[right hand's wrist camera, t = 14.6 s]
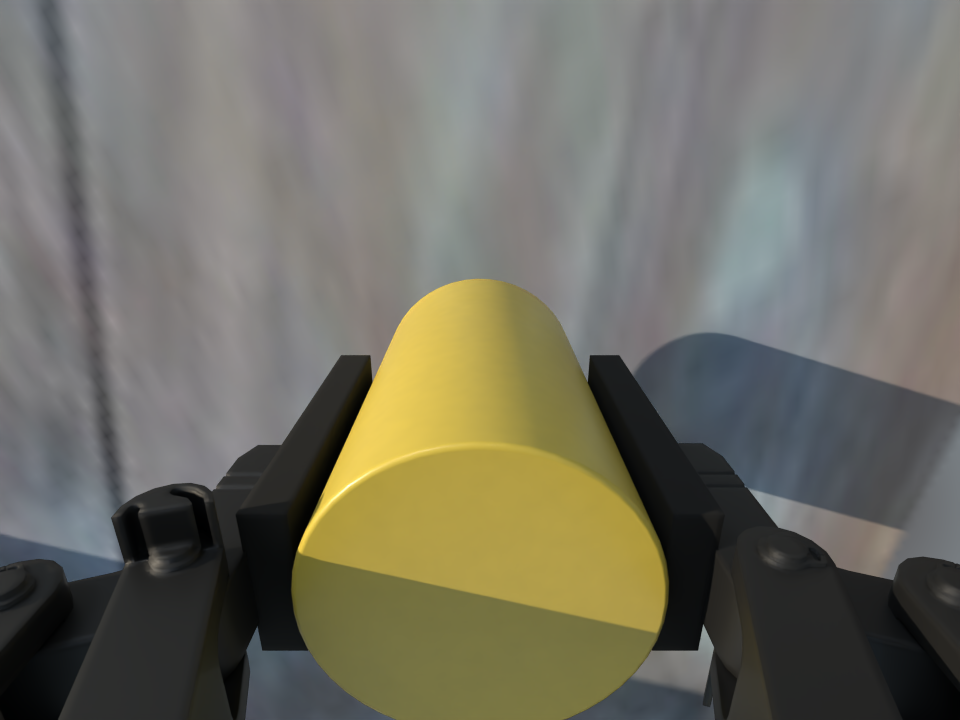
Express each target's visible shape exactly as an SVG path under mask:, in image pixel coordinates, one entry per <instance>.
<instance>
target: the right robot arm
mask: <svg viewBox="0 0 960 720" xmlns="http://www.w3.org/2000/svg"><path fill="white" fill-rule="evenodd" d="M371 385H372V370H371V358H370V355H341V356H340V358H339V359H338V361H337V362H336V364H335V365H334V367H333V368H332V370H331V371H330V373H329V374H328V376H327V377H326V379H325V380H324V382H323V383H322V385H321V386H320V388H319V389H318V391H317V392H316V394H315V395H314V397H313V399H312V400H311V402H310V403H309V405H308V406H307V408H306V409H305V411H304V412H303V414H302V415H301V417H300V418H299V420H298V421H297V423H296V424H295V426H294V427H293V429H292V430H291V432H290V433H289V435H288V436H287V438H286V439H285V441H284V442H283V444H282V445H258V446H256V447H254V448H253V449H251V450H250V451H248V452H247V453H245V454H244V455H242V456H241V457H239V458H238V459H237V460H236V462H235V463H234V464H233V465H232V467H231V468H230V469H229V471H228V472H227V473H226V476H224V477H223V478H222V480H221V481H220V482H219V483H218V485H217V486H216V487H217V488H216V489H214V490H213V491H210V490H209V489H208V488H207V487H205V486H203V485H198V484H193V483H182V484H171V485H167V486H163V487H159V488H154V489H152V490H150V491H147V492H145V493H143V494H140V495H138V496H136V497H134V498H133V499H131V500H130V501H128V502H127V503H125V504H124V505H122V506H121V507H120V508H119V509H118V510H117V511H116V513H115V514H114V515H113V516H112V517H111V519H112V522H113V526H114V529H115V532H116V536H117V539H118V542H119V545H120V549H121V552H122V555H123V559H124V562H125V566H124V568H123V570H121V571H117V572H114V573H110V574H105V575H101V576H96V577H91V578H87V579H82V580H77V581H73V582H67V579H66V576H65V573H64V571H63V568H62V567H61V566H60V565H59V564H57V563H56V562H55V561H51V560H43V559H35V560H28V561H21V562H17V563H13V564H9V565H8V566H3V567H0V720H245V715H246V706H247V696H248V687H249V678H250V667H249V661H248V656H247V651H246V649H247V647H248V645H249V643H250V641H251V639H252V636H253V634H254V632H255V630H256V628H257V626H258V631H259V636H260V641H261V646H262V651H308V648H307V646H306V644H305V642H304V640H303V638H302V636H301V634H300V631H299V628H298V625H297V621H296V618H295V615H294V609H293V601H292V592H291V585H292V570H293V565H294V561H295V556H296V552H297V549H298V547H299V544H300V542H301V540H302V537H303V535H304V532H305V530H306V528H307V526H308V524H309V521H310V519H311V517H312V515H313V513H314V510H315V508H316V506H317V504H318V502H319V499H320V497H321V495H322V493H323V491H324V488H325V486H326V484H327V482H328V480H329V477H330V475H331V473H332V471H333V469H334V466H335V464H336V462H337V460H338V458H339V455H340V453H341V451H342V449H343V447H344V444H345V442H346V440H347V438H348V436H349V433H350V431H351V429H352V427H353V425H354V422H355V420H356V418H357V416H358V414H359V411H360V409H361V407H362V405H363V403H364V400H365V398H366V396H367V394H368V392H369V389H370V387H371ZM588 385H589V387H590V389H591V391H592V393H593V396H594V398H595V400H596V402H597V404H598V407H599V409H600V411H601V413H602V415H603V417H604V420H605V422H606V424H607V426H608V428H609V431H610V433H611V435H612V437H613V439H614V442H615V444H616V446H617V448H618V450H619V453H620V455H621V457H622V459H623V461H624V463H625V466H626V468H627V470H628V472H629V474H630V477H631V479H632V481H633V483H634V485H635V488H636V490H637V492H638V494H639V496H640V499H641V501H642V503H643V505H644V507H645V510H646V512H647V514H648V516H649V518H650V520H651V523H652V525H653V527H654V529H655V531H656V534H657V536H658V538H659V540H660V543H661V546H662V549H663V552H664V555H665V558H666V562H667V569H668V577H669V595H668V605H667V610H666V615H665V620H664V624H663V626H662V629H661V631H660V634H659V637H658V639H657V641H656V643H655V645H654V646H653V648H652V650H654V651H698V647H699V642H700V637H701V632H702V627H703V624H704V626H705V629H706V631H707V633H708V635H709V637H710V639H711V641H712V644H713V646H714V651H713V656H712V661H711V665H710V670H709V675H708V679H707V684H706V689H705V693H704V700H703V705H704V706H708V707H710V705H711V701H712V696H713V704H714V714H715V720H960V565H959V564H955V563H953V562H950V561H946V560H942V559H935V558H928V557H916V558H908V559H906V560H905V561H904V562H902V563H901V564H900V565H899V566H898V569H897V572H896V575H895V578H894V580H889V579H885V578H880V577H875V576H871V575H866V574H861V573H857V572H852V571H848V570H844V569H841V568H837V567H836V565H835V563H834V562H833V560H832V559H831V558H830V556H829V555H828V553H827V552H826V551H825V550H823V549H822V548H821V547H820V546H818V545H817V544H816V543H814V542H813V541H812V540H810V539H808V538H805V537H803V536H801V535H799V534H797V533H795V532H792V531H788V530H785V529H781V528H778V527H777V525H776V524H775V523H774V522H773V520H772V519H771V518H770V516H769V515H768V514H767V513H766V511H765V510H764V509H763V508H762V506H761V505H760V504H759V502H758V501H757V500H756V499H755V497H754V496H753V495H752V493H751V492H750V491H749V490H748V488H745V487H744V483H743V482H742V481H741V479H740V478H739V477H738V476H737V475H735V474H734V470H733V469H732V468H731V467H730V465H729V464H728V463H727V461H726V460H725V459H724V458H723V456H721V455H720V454H718V453H716V452H715V451H713V450H712V449H710V448H709V447H707V446H706V445H704V444H703V443H677V442H676V440H675V439H674V437H673V436H672V434H671V433H670V431H669V430H668V428H667V427H666V425H665V424H664V422H663V421H662V419H661V418H660V416H659V415H658V413H657V412H656V410H655V409H654V407H653V405H652V404H651V402H650V401H649V399H648V398H647V396H646V395H645V393H644V392H643V390H642V389H641V387H640V386H639V384H638V383H637V381H636V380H635V378H634V377H633V375H632V374H631V372H630V371H629V369H628V368H627V366H626V365H625V363H624V362H623V360H622V359H621V357H620V356H619V355H590V362H589V375H588Z"/></svg>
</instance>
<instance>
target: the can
mask: <svg viewBox="0 0 960 720" xmlns="http://www.w3.org/2000/svg"><path fill="white" fill-rule="evenodd" d="M291 592H292V601H293V609H294V615H295V618H296V621H297V625H298V628H299V631H300V634H301V636H302V638H303V640H304V642H305V644H306V646H307V648H308V650H309V651H310V653H311V654H312V656H313V657H314V659H315V660H316V662H317V663H318V665H319V666H320V667H321V668H322V669H323V670H324V671H325V673H326V674H327V675H328V676H329V677H330V678H331V679H332V680H333V681H334V682H335V683H336V684H337V685H339V686H340V687H341V688H342V689H343V690H344V691H345V692H347V693H348V694H350V695H351V696H353V697H354V698H355V699H357V700H358V701H360V702H361V703H363V704H364V705H366V706H368V707H370V708H372V709H374V710H376V711H377V712H379V713H381V714H384V715H386V716H388V717H391V718H393V719H396V720H565V719H568V718H570V717H572V716H574V715H576V714H579V713H581V712H583V711H585V710H587V709H589V708H591V707H592V706H594V705H595V704H597V703H599V702H600V701H602V700H604V699H605V698H607V697H608V696H609V695H611V694H612V693H613V692H614V691H616V690H617V689H618V688H620V687H621V686H622V685H623V684H624V683H625V682H626V681H627V680H628V679H629V678H630V677H631V676H632V675H633V674H634V673H635V672H636V671H637V670H638V668H639V667H640V666H641V665H642V663H643V662H644V661H645V659H646V658H647V657H648V655H649V653H650V652H651V650H652V648H653V646H654V645H655V643H656V641H657V639H658V637H659V634H660V631H661V629H662V626H663V624H664V620H665V615H666V610H667V605H668V595H669V577H668V569H667V562H666V558H665V555H664V552H663V549H662V546H661V543H660V540H659V538H658V536H657V534H656V531H655V529H654V527H653V525H652V523H651V520H650V518H649V516H648V514H647V512H646V510H645V507H644V505H643V503H642V501H641V499H640V496H639V494H638V492H637V490H636V488H635V485H634V483H633V481H632V479H631V477H630V474H629V472H628V470H627V468H626V466H625V463H624V461H623V459H622V457H621V455H620V453H619V450H618V448H617V446H616V444H615V442H614V439H613V437H612V435H611V433H610V431H609V428H608V426H607V424H606V422H605V420H604V417H603V415H602V413H601V411H600V409H599V407H598V404H597V402H596V400H595V398H594V396H593V393H592V391H591V389H590V387H589V385H588V382H587V380H586V378H585V376H584V374H583V371H582V369H581V367H580V365H579V363H578V360H577V358H576V356H575V354H574V352H573V350H572V347H571V345H570V343H569V341H568V339H567V336H566V334H565V332H564V330H563V328H562V326H561V324H560V322H559V321H558V319H557V318H556V316H555V315H554V314H553V312H552V311H551V310H550V309H549V308H548V307H547V306H546V305H545V304H544V303H543V302H542V301H541V300H539V299H538V298H537V297H536V296H534V295H532V294H531V293H529V292H528V291H526V290H524V289H522V288H520V287H517V286H515V285H512V284H509V283H506V282H502V281H497V280H491V279H471V280H463V281H458V282H454V283H451V284H448V285H445V286H443V287H440V288H438V289H436V290H434V291H433V292H431V293H429V294H428V295H426V296H425V297H423V298H422V299H421V300H419V301H418V302H417V303H416V304H415V305H414V306H413V307H412V308H411V309H410V310H409V311H408V313H407V314H406V315H405V316H404V318H403V319H402V321H401V323H400V324H399V326H398V328H397V330H396V332H395V334H394V337H393V339H392V341H391V343H390V345H389V348H388V350H387V352H386V354H385V356H384V359H383V361H382V363H381V365H380V367H379V370H378V372H377V374H376V376H375V378H374V381H373V383H372V385H371V387H370V389H369V392H368V394H367V396H366V398H365V400H364V403H363V405H362V407H361V409H360V411H359V414H358V416H357V418H356V420H355V422H354V425H353V427H352V429H351V431H350V433H349V436H348V438H347V440H346V442H345V444H344V447H343V449H342V451H341V453H340V455H339V458H338V460H337V462H336V464H335V466H334V469H333V471H332V473H331V475H330V477H329V480H328V482H327V484H326V486H325V488H324V491H323V493H322V495H321V497H320V499H319V502H318V504H317V506H316V508H315V510H314V513H313V515H312V517H311V519H310V521H309V524H308V526H307V528H306V530H305V532H304V535H303V537H302V540H301V542H300V544H299V547H298V549H297V552H296V556H295V561H294V565H293V570H292V585H291Z"/></svg>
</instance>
